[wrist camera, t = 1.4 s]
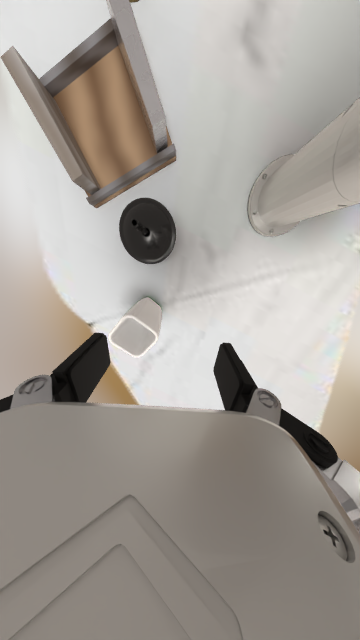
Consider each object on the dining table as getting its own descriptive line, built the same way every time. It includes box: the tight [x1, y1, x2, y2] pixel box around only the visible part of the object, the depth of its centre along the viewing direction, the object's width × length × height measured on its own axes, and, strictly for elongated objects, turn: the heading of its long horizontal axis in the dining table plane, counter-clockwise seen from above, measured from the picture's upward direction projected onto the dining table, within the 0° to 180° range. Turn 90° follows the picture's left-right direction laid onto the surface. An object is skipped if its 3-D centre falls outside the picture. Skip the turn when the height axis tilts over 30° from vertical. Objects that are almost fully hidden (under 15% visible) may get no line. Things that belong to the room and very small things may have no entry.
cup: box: [108, 297, 162, 357], centre depth 31 cm, size 7×7×15 cm
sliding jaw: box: [106, 0, 168, 154], centre depth 19 cm, size 2×12×6 cm, turn 23°
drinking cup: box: [119, 198, 176, 264], centre depth 22 cm, size 8×8×20 cm
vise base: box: [1, 4, 176, 208], centre depth 20 cm, size 18×14×7 cm
